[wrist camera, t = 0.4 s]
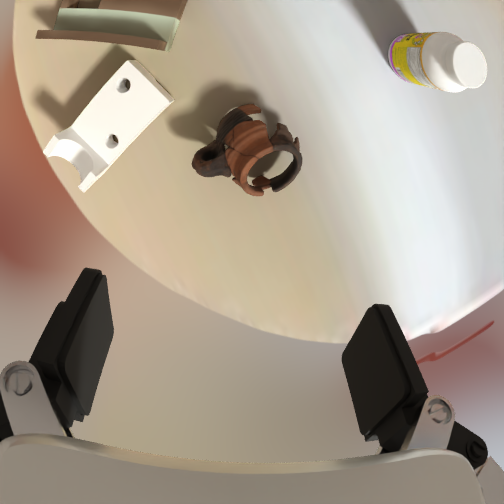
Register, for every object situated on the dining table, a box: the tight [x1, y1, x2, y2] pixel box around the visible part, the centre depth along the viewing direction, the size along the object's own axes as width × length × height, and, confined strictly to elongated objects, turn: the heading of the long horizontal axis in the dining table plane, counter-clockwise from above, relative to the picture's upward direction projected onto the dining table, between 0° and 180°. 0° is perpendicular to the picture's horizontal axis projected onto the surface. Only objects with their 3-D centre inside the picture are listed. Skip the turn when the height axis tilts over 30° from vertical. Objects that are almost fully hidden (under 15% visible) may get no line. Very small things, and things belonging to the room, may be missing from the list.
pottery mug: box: [192, 104, 302, 196], centre depth 35 cm, size 12×10×8 cm
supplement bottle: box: [388, 32, 487, 92], centre depth 25 cm, size 7×7×13 cm
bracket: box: [43, 60, 175, 192], centre depth 31 cm, size 13×7×8 cm, turn 129°
